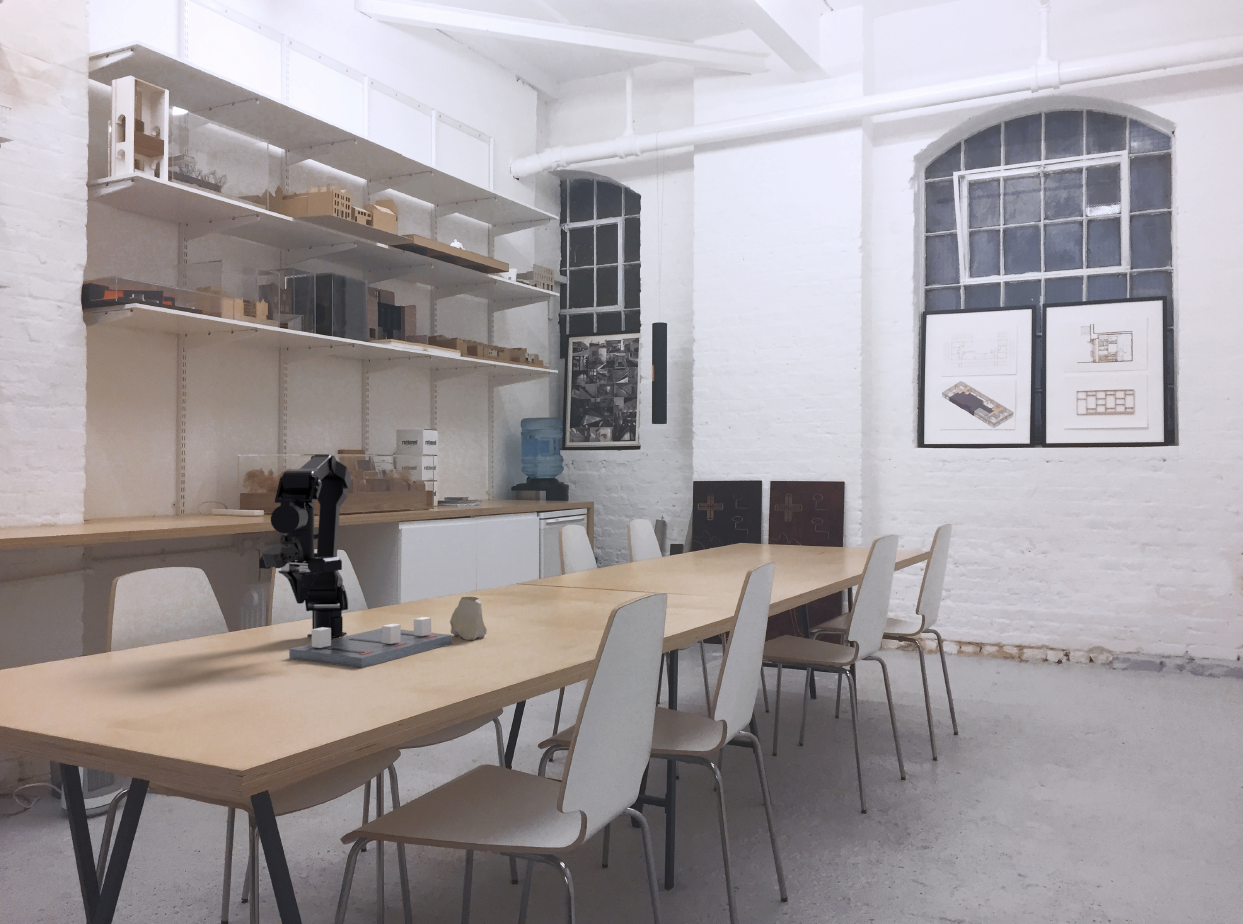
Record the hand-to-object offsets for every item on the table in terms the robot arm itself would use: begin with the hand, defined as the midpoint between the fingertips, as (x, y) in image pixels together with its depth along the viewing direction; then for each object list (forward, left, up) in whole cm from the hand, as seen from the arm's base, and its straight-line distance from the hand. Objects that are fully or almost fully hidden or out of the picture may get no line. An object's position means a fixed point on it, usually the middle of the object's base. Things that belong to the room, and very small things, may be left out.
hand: (300, 603), depth 196 cm
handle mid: (+16, +10, -9) cm, 21 cm away
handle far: (+16, +20, -9) cm, 27 cm away
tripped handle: (+6, 0, -8) cm, 10 cm away
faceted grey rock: (+19, +32, -11) cm, 39 cm away
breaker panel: (+11, +10, -11) cm, 18 cm away
